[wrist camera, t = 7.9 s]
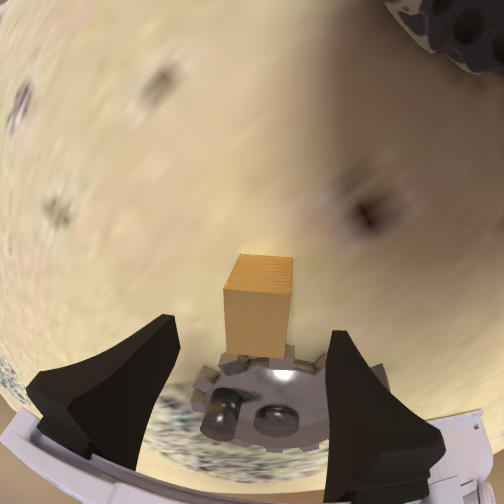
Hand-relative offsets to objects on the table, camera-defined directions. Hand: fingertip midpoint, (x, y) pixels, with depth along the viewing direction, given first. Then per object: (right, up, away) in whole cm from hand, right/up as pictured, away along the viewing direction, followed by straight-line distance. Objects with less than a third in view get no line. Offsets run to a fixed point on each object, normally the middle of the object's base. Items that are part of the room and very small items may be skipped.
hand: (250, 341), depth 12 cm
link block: (+1, +2, +5) cm, 5 cm away
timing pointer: (+10, -5, +6) cm, 13 cm away
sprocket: (+2, -9, +9) cm, 13 cm away
